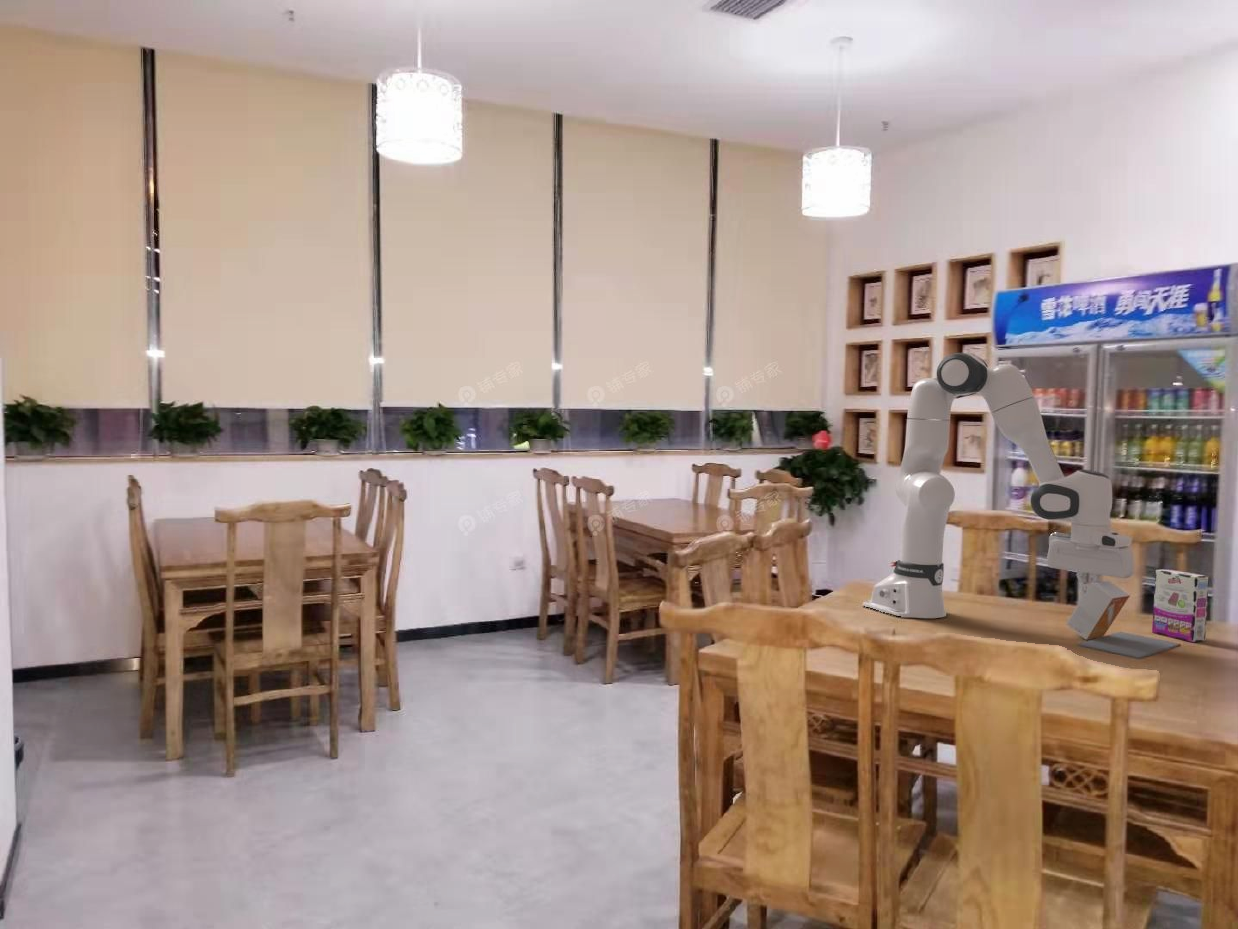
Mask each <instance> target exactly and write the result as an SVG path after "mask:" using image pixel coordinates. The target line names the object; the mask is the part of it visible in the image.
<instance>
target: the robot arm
mask: <svg viewBox="0 0 1238 929" xmlns="http://www.w3.org/2000/svg"><path fill="white" fill-rule="evenodd" d="M975 394H979V396H982V397H983V399H984V400H985V402H986V404H987V406H988V408H989V411H990V414H991V415H992V418H993V420H994V422H995V424H996V427H997V428H998V430H999V431H1000V433H1001V434H1002V435H1003V437H1005V438H1006V439H1007V440H1009V441H1010V442H1012V443H1013V444H1014V445H1015V446H1016V447H1019V449H1021V450H1022V452H1023V453H1024V455H1025V456H1026V458H1027V460H1028V463H1029V465H1030V466H1031V468H1032V471H1033V473H1034V475H1035V477H1036V480H1037V482H1038V487H1036V488H1035V489H1034V490H1033V491H1032V494H1031V496H1030V505H1031V506H1030V507H1031V508H1032V510H1033V512H1034V513H1035V514H1036V515H1037V516H1038V517H1040V518H1042V519H1043V520H1047V521H1057V520H1058V521H1059V520H1062V519H1070V521H1071V522H1070V524H1071V525H1070V533H1069V532H1060V531H1055V532H1054V533H1053V532H1052V533H1051V534H1050V536H1049V537H1048V545H1049V547H1048V551H1047V556H1046V564H1047V566H1048V567H1049V568H1050V569H1057V570H1065V571H1071V572H1076V575H1075V576H1076V578H1077V580H1078V582H1079V583H1080V590H1081V591H1085V592H1086V591H1087V589H1088V588H1089V586H1090V585H1091V583H1096V582H1100V580H1101V579H1102V576H1105V577H1111V578H1119V579H1129V578H1132V577H1133V575H1134V574H1135V555H1134V552H1133V550H1132V548H1130V546H1131V545H1132V543H1133V542H1132V540H1133V539H1132V538H1131V537H1130V536H1128V535H1125V534H1124V533H1121V532H1119V531H1117V530H1114V529H1112V522H1111V517H1110V516H1111V512H1112V508H1113V488H1112V487H1113V486H1112V481H1111V479H1110V478H1109V477H1108V475H1107V474H1104V473H1103V472H1099V471H1096V470H1095V471H1094V470H1090V469H1077V470H1076V471H1075V472H1073V473H1072V474H1069V475H1067V476H1066V474H1065V473H1064V471H1063V470H1062V469H1061V465H1060V463H1059V462H1058V459H1057V458H1056V457H1057V456H1056V455H1055V453H1054V451H1053V448H1052V447H1051V443H1050V441H1049V439H1048V436H1047V432H1046V429H1045V425H1044V421H1043V417H1042V414H1041V411H1040V407H1039V405H1038V404H1039V403H1038V401H1037V399H1036V397H1035V395H1034V393H1033V390H1032V389H1031V387H1030V384H1029V383H1028V381H1027V380H1026V378H1025V376H1024V375H1023V374H1022V372H1021V371H1020V369H1019V368H1018V367H1017V366H1015V365H1014V364H1011V363H1002V364H998V365H995V366H992V367H990V366H988V365H987V363H986V361H984V360H983V359H982V358H981V357H979V356H977V355H974V354H972V353H969V352H954V353H951V354H949V355H947V356H945V357H943V359H942V360H941V361H940V362H939V364H938V365H937V369H936V376H935V377H927V378H922V379H920V380H918V381H916V382H915V383H914V385H913V386H912V390H911V393H910V397H909V402H908V406H907V407H908V409H907V415H906V416H907V418H906V429H905V430H906V432H905V433H906V434H905V446H904V451H903V456H902V460H901V464H900V469H899V473H898V474H899V475H898V479H897V480H896V484H895V492H896V495H897V497H898V499H899V500H900V501H901V503H902V504H904V506H906V507H907V510H906V515H905V516H906V517H905V520H904V524H903V527H902V528H901V532H900V544H899V545H900V548H899V559H897V561H892V562H891V564H892V565H890V567H892V568H893V567H894V569H893V572H892V573H891V574H889V575H888V576H887V577H885V578H884V579H882V580H880V581H879V582H877V583H875V585H874V586H873V589H872V592H871V599H868V600H866V601H863V602H862V607H863V606H865V607H864V608H866V607H870V608H873V609H876V610H879V611H878V612H880V611H881V613H883V612H885V613H884V614H886V613H891V614H894V615H897V616H901V617H900V618H915V619H916V618H917V619H938V618H944V617H946V616H947V612H946V608H945V603H944V596H943V595H944V594H943V581H944V575H945V574H944V571H945V566H944V565H945V564H944V563H943V555H944V554H943V553H944V551H943V550H944V538H945V537H944V536H945V530H946V525H947V521H948V519H949V518H948V517H949V513H950V508H951V506H952V505H953V503H954V501H955V497H956V496H955V494H956V493H955V489H954V487H953V484H952V483H951V482H950V480H948V479H947V478H946V477H945V476H944V475H942V474H941V471H942V468H943V463H944V460H945V457H946V454H948V450H949V445H950V444H949V443H950V442H949V441H950V427H951V426H950V425H951V409H952V406H953V402H954V401H955V399H960V398H964V397H968V396H969V397H970V396H973V395H975ZM1087 574H1090V575H1091V576H1090V578H1091V582H1087V580H1086V578H1085V576H1087ZM870 608H869V609H870ZM873 609H872V610H873ZM876 610H875V611H876Z"/></svg>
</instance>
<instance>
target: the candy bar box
mask: <svg viewBox="0 0 1238 929" xmlns="http://www.w3.org/2000/svg"><path fill="white" fill-rule="evenodd" d="M1154 575H1155V576H1154V579H1155V580H1154V591H1153V592H1154V596H1153V609H1152V610H1153V611H1152V612H1153V613H1152V629H1151V633H1152V634H1153V633H1154V634H1156V635H1160V636H1165V637H1168V638H1172V639H1173V638H1174V639H1176V640H1181V641H1184V642H1189V643H1202V642H1206V632H1207V617H1208V616H1207V615H1208V613H1207V612H1208V601H1209V600H1208V598H1209V597H1208V595H1209V584H1210V583H1209V581H1210V576H1209V575H1203V574H1198V573H1194V572H1187V571H1181V570H1175V569H1169V568H1167V569H1166V568H1163V569H1162V568H1161V569H1156V570H1155V574H1154Z"/></svg>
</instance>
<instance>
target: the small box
mask: <svg viewBox="0 0 1238 929" xmlns="http://www.w3.org/2000/svg"><path fill="white" fill-rule="evenodd" d="M1090 583H1091V582H1090ZM1130 596H1131V595H1130V594H1129V593H1128V592H1126V591H1125V590H1123V589H1122V588H1120V587H1119V586H1118V585H1116V583H1114V582H1112V581H1110V580H1103V581H1100V580H1099V581H1098V582H1096V583H1091V585H1090V586H1089V588H1088V589H1087V591H1085V593H1084V594H1083V596H1082V598H1081V599H1080V601H1079V602H1078V604H1077V605H1076V606H1075V609H1074V611H1073V612H1072V613H1071V616H1070V617H1069V618H1068V620H1067V622H1066V626H1068V627H1069V628H1070V629H1071V630H1073V631H1074V632H1075V633H1076V634H1078V635H1080V637H1082V638H1083V639H1085V640H1086V641H1089V640H1093V639H1096V638H1100V637H1103V636H1106V633H1107V632H1108V630H1109V628H1110V627H1111V625H1112V624H1113V622H1114V621H1115V619H1116V618H1117V616H1118V615H1119V614H1120V612H1121V610H1122V609H1123V607H1124V606H1125V604H1126V603H1127V601H1128V600H1129V599H1130Z"/></svg>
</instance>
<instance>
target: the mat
mask: <svg viewBox="0 0 1238 929" xmlns="http://www.w3.org/2000/svg"><path fill="white" fill-rule="evenodd" d="M1077 646H1078V647H1083V648H1087V649H1093V650H1097V651H1101V652H1105V651H1106V653H1110V654H1115V655H1120V656H1124V657H1128V658H1134V659H1137V660H1138V659H1139V660H1140V659H1142V658H1146V657H1148V656H1151V655H1155V654H1157V653H1161V652H1165V651H1167V650H1170V649H1173V648H1176V647H1179V646H1181V643H1180V642H1173V641H1168V640H1163V639H1158V638H1153V637H1147V636H1143V635H1139V634H1134V633H1129V632H1123V631H1118V632H1115V633H1114V632H1113V633H1111V634H1108V635H1104V636H1102V637H1096V638H1092V639H1088V640H1086V641H1082V642H1079V643H1077Z"/></svg>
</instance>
